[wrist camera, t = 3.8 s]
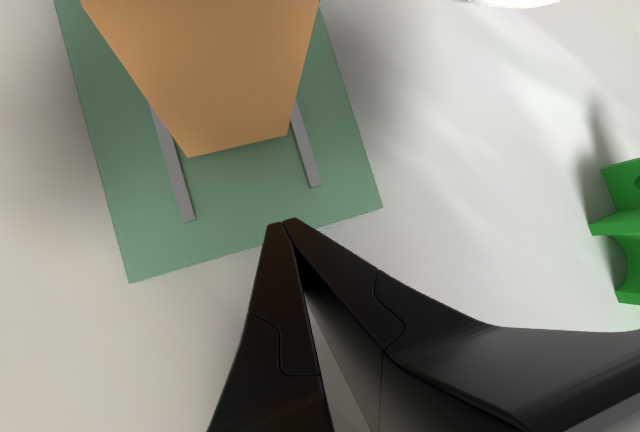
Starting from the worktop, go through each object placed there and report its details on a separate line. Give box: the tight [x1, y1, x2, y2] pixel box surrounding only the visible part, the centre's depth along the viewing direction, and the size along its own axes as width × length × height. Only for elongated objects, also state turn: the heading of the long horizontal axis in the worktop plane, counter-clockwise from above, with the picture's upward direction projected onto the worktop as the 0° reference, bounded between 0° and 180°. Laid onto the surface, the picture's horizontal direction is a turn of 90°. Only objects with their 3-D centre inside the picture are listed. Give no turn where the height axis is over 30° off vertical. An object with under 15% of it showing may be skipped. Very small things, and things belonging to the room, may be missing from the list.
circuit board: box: [54, 0, 383, 284], centre depth 18 cm, size 22×13×1 cm, turn 17°
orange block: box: [80, 0, 320, 158], centre depth 12 cm, size 2×5×10 cm, turn 108°
